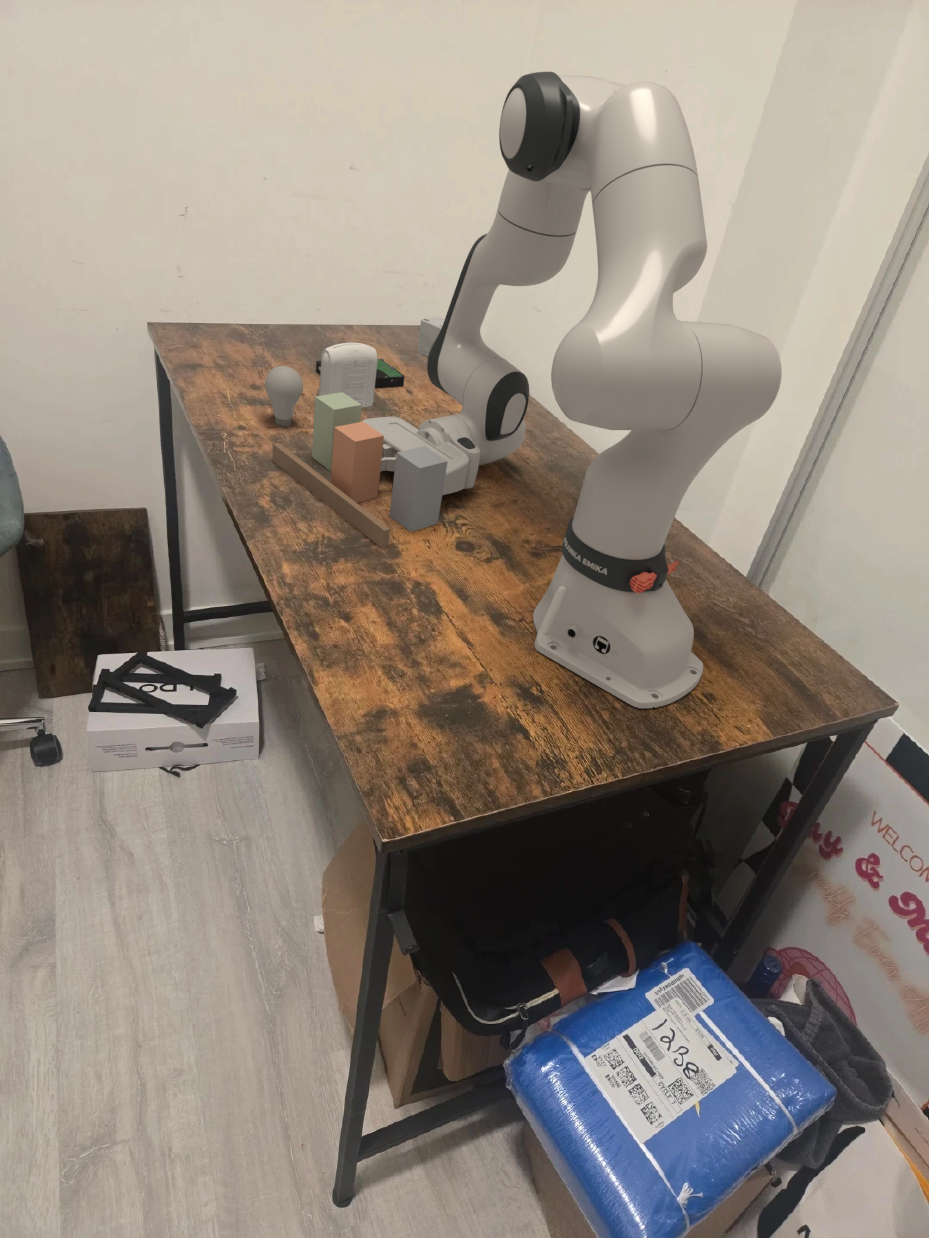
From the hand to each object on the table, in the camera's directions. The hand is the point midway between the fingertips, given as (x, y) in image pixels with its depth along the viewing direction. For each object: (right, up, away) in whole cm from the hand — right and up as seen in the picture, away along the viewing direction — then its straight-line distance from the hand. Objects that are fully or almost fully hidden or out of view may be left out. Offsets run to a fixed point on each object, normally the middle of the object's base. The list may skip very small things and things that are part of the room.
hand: (370, 463), depth 116 cm
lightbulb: (-17, +9, +17) cm, 26 cm away
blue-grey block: (+6, -9, -2) cm, 11 cm away
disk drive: (-7, +24, +42) cm, 49 cm away
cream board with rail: (-1, -5, +4) cm, 6 cm away
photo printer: (-8, +15, +28) cm, 33 cm away
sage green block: (-7, +2, +9) cm, 11 cm away
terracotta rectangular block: (-3, -4, +1) cm, 5 cm away
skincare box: (+7, +36, +60) cm, 70 cm away
